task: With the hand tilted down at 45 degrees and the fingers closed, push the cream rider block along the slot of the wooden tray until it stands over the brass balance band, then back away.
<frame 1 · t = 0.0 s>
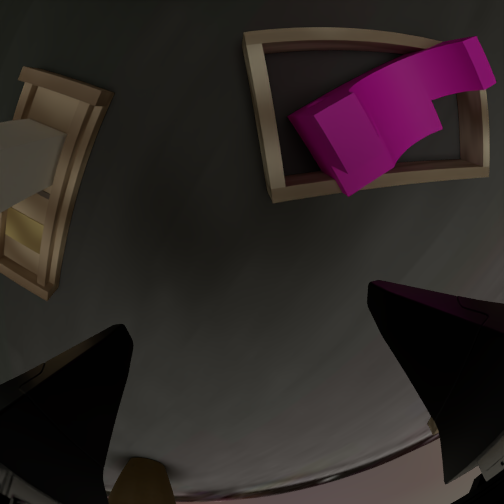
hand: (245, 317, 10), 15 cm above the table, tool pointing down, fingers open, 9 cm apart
toy block: (379, 106, 20), resting in block pen
block pen: (379, 106, 20), on the table
wooden tray: (39, 184, 21), on the table
plant pot: (148, 463, 44), on the table
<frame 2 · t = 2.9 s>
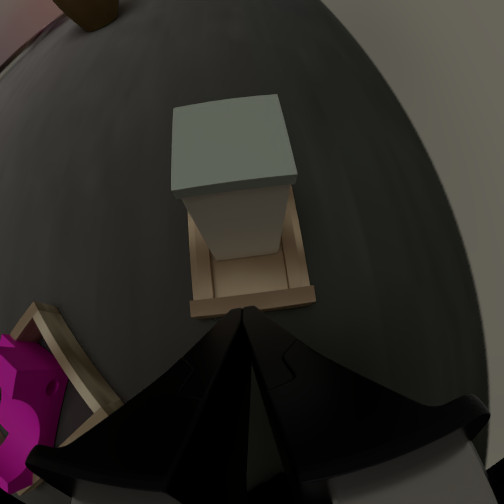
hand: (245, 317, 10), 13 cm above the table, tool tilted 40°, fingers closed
toy block: (37, 411, 20), resting in block pen
block pen: (37, 411, 20), on the table
rider: (238, 195, 18), point 7 cm above the table, slide at 0.0 cm
wooden tray: (240, 198, 26), on the table
plant pot: (101, 23, 39), on the table
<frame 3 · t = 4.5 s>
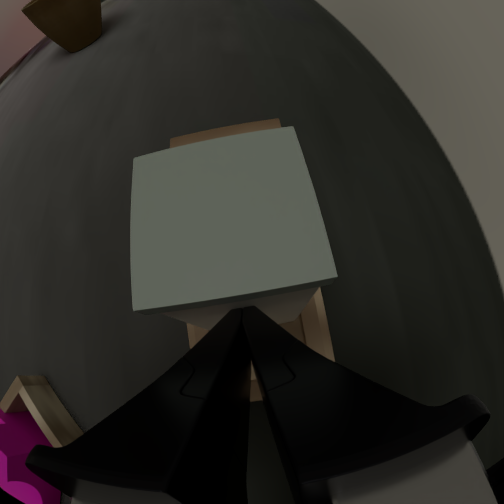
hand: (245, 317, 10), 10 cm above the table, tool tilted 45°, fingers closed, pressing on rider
toy block: (39, 477, 15), resting in block pen
block pen: (38, 477, 15), on the table
rider: (241, 268, 13), point 7 cm above the table, slide at 0.2 cm, touching gripper
wooden tray: (245, 252, 21), on the table
plant pot: (84, 43, 38), on the table
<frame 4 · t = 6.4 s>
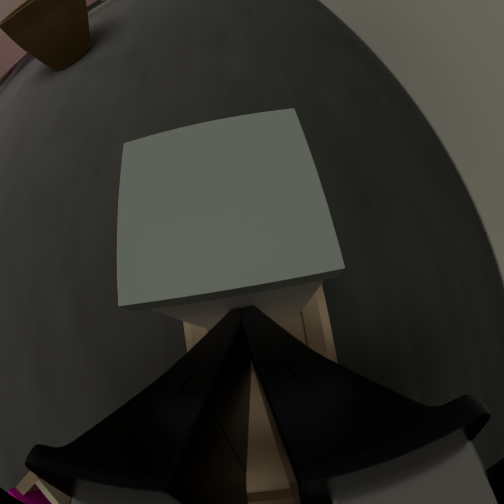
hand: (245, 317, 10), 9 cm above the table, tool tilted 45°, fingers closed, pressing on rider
rider: (239, 262, 12), point 7 cm above the table, slide at 8.3 cm, touching gripper
wooden tray: (263, 365, 18), on the table
plant pot: (71, 58, 34), on the table
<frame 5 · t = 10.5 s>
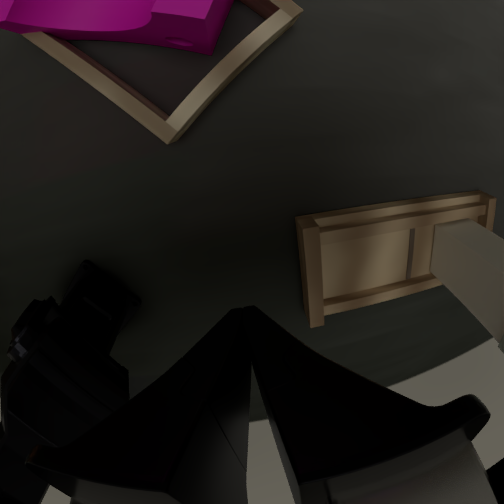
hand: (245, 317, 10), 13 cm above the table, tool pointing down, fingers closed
toy block: (131, 7, 14), resting in block pen
block pen: (131, 6, 14), on the table
rider: (488, 274, 17), point 7 cm above the table, slide at 8.3 cm
wooden tray: (404, 246, 24), on the table
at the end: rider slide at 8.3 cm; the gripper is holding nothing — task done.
